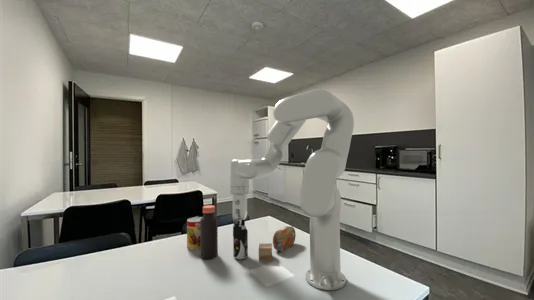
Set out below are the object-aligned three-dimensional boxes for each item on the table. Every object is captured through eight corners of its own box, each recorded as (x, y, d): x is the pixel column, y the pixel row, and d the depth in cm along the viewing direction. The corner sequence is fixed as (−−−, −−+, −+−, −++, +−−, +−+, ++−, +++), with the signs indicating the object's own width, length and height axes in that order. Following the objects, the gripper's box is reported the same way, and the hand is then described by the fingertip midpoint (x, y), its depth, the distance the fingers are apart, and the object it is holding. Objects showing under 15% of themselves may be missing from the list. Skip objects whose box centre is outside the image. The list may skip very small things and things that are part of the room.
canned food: (200, 249, 102) (200, 221, 102) (183, 248, 103) (183, 221, 103) (207, 243, 110) (207, 217, 110) (192, 242, 111) (192, 216, 111)
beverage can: (245, 260, 90) (245, 229, 91) (231, 259, 91) (231, 228, 92) (249, 254, 96) (249, 225, 96) (236, 253, 97) (235, 224, 97)
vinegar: (219, 252, 98) (219, 204, 99) (214, 260, 91) (214, 208, 92) (204, 252, 99) (203, 204, 99) (197, 259, 92) (197, 208, 93)
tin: (277, 254, 96) (277, 233, 96) (271, 252, 98) (271, 232, 98) (296, 243, 108) (296, 224, 108) (290, 241, 110) (290, 223, 110)
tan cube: (271, 261, 90) (271, 248, 90) (258, 261, 90) (258, 248, 90) (271, 255, 95) (271, 243, 95) (259, 255, 95) (259, 243, 95)
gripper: (246, 193, 86) (245, 240, 85) (251, 186, 103) (250, 225, 103) (226, 193, 86) (225, 240, 86) (234, 186, 103) (233, 225, 103)
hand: (239, 232), depth 94 cm, fingers open, 9 cm apart
